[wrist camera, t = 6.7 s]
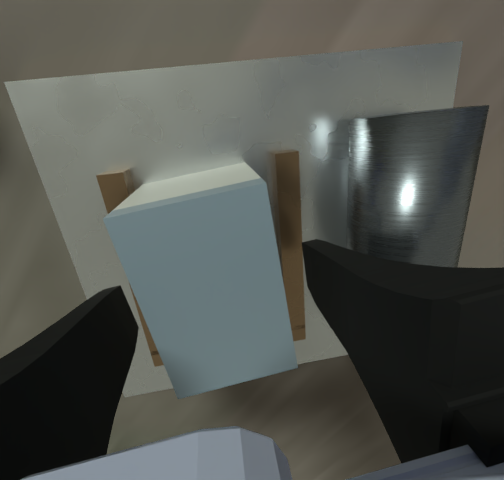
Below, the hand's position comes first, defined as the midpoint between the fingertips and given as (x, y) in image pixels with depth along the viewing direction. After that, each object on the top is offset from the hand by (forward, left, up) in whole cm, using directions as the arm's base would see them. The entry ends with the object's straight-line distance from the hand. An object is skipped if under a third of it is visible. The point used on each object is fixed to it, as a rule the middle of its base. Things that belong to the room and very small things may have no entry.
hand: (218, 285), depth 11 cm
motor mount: (-2, 0, -4) cm, 5 cm away
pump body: (0, 0, -3) cm, 3 cm away
